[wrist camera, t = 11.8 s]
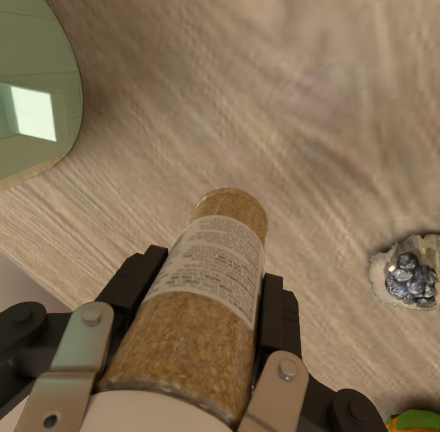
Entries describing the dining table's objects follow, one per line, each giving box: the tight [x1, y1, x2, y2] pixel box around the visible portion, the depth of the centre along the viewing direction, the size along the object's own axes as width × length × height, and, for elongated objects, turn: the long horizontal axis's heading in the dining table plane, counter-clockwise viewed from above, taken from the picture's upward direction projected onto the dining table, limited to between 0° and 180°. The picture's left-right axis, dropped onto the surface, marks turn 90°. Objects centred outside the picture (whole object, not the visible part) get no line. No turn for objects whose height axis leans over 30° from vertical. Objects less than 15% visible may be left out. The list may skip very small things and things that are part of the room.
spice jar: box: [79, 188, 268, 432], centre depth 11 cm, size 5×5×14 cm
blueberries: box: [368, 234, 440, 311], centre depth 21 cm, size 7×8×2 cm
